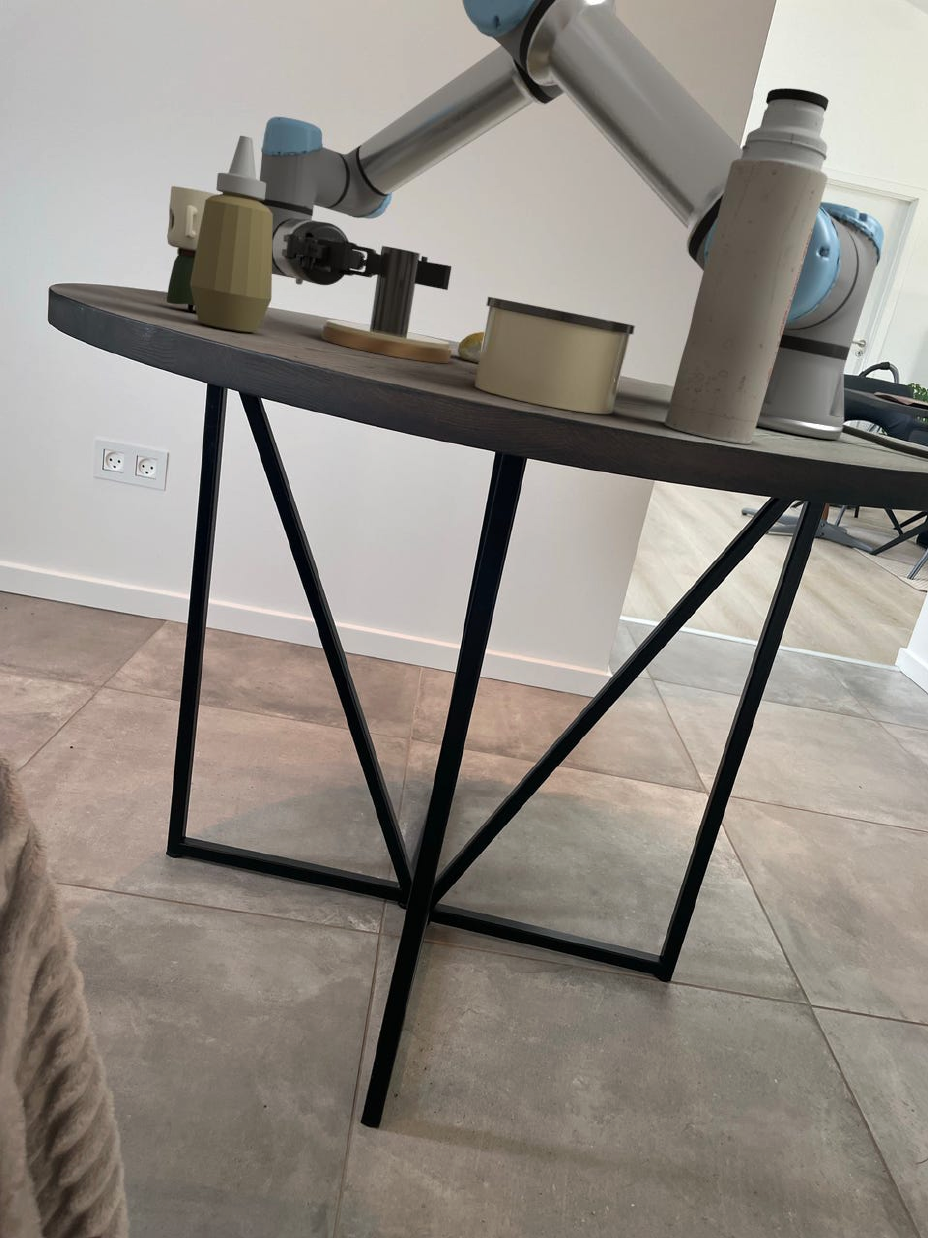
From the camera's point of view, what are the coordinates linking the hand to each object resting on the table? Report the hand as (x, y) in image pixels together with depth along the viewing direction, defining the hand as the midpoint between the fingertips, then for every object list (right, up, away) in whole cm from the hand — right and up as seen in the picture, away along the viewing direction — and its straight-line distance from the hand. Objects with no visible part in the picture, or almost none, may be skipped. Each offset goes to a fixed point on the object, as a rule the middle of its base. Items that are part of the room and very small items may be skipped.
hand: (399, 267), depth 105 cm
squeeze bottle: (-17, -10, -10) cm, 22 cm away
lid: (-2, -7, +3) cm, 8 cm away
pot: (+15, -19, -18) cm, 30 cm away
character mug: (-25, -4, +4) cm, 25 cm away
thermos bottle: (+30, -23, -20) cm, 43 cm away
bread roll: (+11, -7, +14) cm, 19 cm away
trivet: (-2, -8, +3) cm, 9 cm away
